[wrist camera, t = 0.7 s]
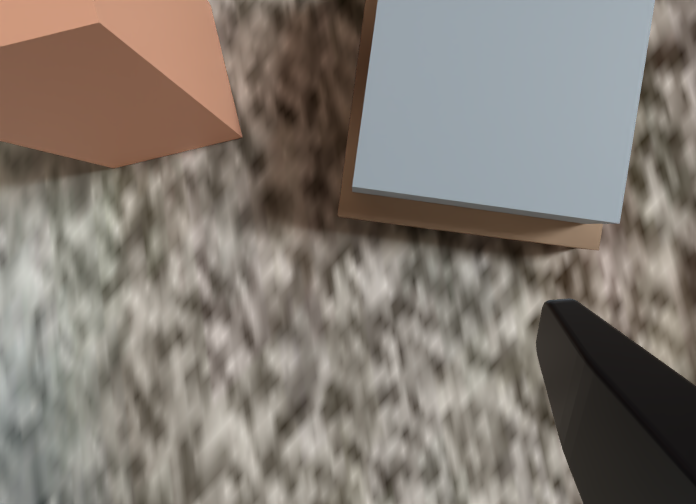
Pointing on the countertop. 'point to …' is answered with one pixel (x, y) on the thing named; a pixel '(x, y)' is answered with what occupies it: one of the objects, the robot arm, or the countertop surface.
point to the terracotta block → (113, 79)
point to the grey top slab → (504, 104)
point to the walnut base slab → (434, 213)
